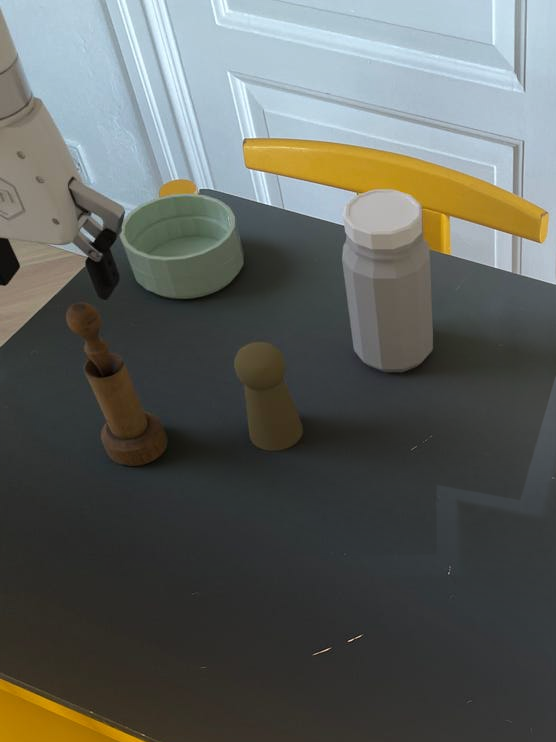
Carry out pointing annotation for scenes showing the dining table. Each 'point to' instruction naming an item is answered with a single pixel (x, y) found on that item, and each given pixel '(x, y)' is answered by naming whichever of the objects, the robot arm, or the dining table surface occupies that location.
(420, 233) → the jar
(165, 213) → the bowl
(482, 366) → the dining table surface
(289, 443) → the board game pawn
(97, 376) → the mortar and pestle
